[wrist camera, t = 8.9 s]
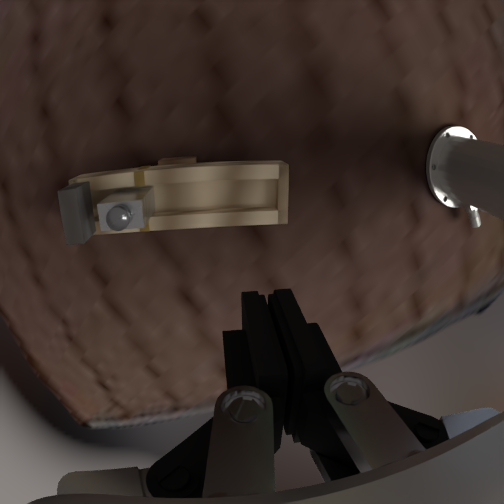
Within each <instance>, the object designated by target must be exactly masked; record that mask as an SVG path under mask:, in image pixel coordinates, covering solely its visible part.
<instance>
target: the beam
mask: <svg viewBox="0 0 504 504" xmlns="http://www.w3.org/2000/svg"><path fill="white" fill-rule="evenodd" d="M151 186H154V197H155V208H156V210H155V211H154V213H153V215H152V216H151V218H150V219H149V221H148V223H147V224H146V226H145V228H136V229H124V230H122V231H114V230H110V231H101V228H100V221H99V215H98V208H97V204H98V203H99V202H101V201H102V200H103V199H104V198H106V197H107V196H108V195H110V194H111V193H112V192H114V191H115V190H119V189H129V188H139V187H151ZM288 191H289V164H287V163H285V162H283V161H281V160H278V161H226V162H204V163H197V156H184V157H170V158H162V159H160V160H159V161H158V166H151V165H149V166H141V167H138V168H128V169H119V170H111V171H103V172H95V173H88V174H81V175H79V176H77V177H74V178H72V179H70V180H69V185H68V186H66V187H64V188H63V189H61V190H59V191H57V192H58V199H59V206H60V212H61V218H62V223H63V229H64V234H65V239H66V244H67V245H73V244H85V243H86V242H87V240H88V239H89V238H90V237H91V236H92V235H101V234H114V233H127V232H146V231H156V230H172V229H188V228H206V227H224V226H245V225H267V224H288Z"/></svg>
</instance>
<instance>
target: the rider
mask: <svg viewBox="0 0 504 504" xmlns="http://www.w3.org/2000/svg"><path fill="white" fill-rule="evenodd" d="M97 208H98V215H99V221H100V228H101V231H110V230H114V231H122V230H124V229H136V228H145V226H146V224H147V223H148V221H149V219H150V218H151V216H152V215H153V213H154V211H155V210H156V208H155V197H154V186H151V187H139V188H129V189H119V190H115V191H114V192H112V193H111V194H110V195H108V196H107V197H106V198H104V199H103V200H102V201H101V202H99V203H98V204H97Z"/></svg>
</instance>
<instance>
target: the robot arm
mask: <svg viewBox="0 0 504 504" xmlns="http://www.w3.org/2000/svg"><path fill="white" fill-rule="evenodd" d="M426 174H427V181H428V184H429V188H430V190H431V192H432V194H433V195H434V197H435V198H436V199H437V200H438V201H439V202H440V203H442V204H444V205H446V206H448V207H451V208H457V207H461V206H463V207H464V208H465V211H466V212H468V215H469V216H468V217H469V221H470V225H471V227H473V228H476V227H479V226H480V224H481V221H480V217H479V213H478V210H477V209H479V210H480V211H481V212H486V213H488V214H491V215H493V216H495V217H497V218H499V219H501V220H503V221H504V145H501V144H496V143H492V142H487V141H482V140H477V139H476V137H475V136H474V135H473V133H472V132H471V131H469V130H468V129H466V128H464V127H461V126H448V127H445V128H444V129H442V130H441V131H440V132H439V133H438V134H437V135H436V136H435V138H434V139H433V141H432V143H431V145H430V148H429V151H428V155H427V162H426ZM241 301H242V330H231V331H222V332H223V345H224V357H225V368H226V379H227V390H226V391H224V392H223V393H222V394H221V395H220V396H219V397H218V398H217V401H216V404H215V409H214V416H213V417H212V418H211V419H210V420H209V421H208V422H206V423H205V424H204V425H203V426H201V427H200V428H199V429H198V430H197V431H195V432H194V433H193V434H192V435H190V436H189V437H188V438H187V439H185V440H184V441H183V442H182V443H180V444H179V445H178V446H176V447H175V448H174V449H172V450H171V451H170V452H169V453H167V454H166V455H165V456H163V457H162V458H161V459H160V460H158V461H156V462H155V463H154V464H153V465H152V466H151V467H150V468H144V469H138V467H129V468H119V469H109V470H95V471H75V472H71V473H68V474H66V475H65V476H63V477H62V478H61V480H60V481H59V483H58V488H57V495H55V496H48V497H44V498H40V499H37V500H34V501H32V502H30V503H28V504H504V412H502V413H499V412H498V411H497V410H495V409H492V408H490V407H486V408H480V409H476V410H471V411H467V412H462V413H457V414H451V415H446V416H442V417H441V418H440V420H438V419H436V418H434V417H432V416H429V415H426V414H423V413H420V412H417V411H414V410H411V409H408V408H405V407H403V406H400V405H397V404H394V403H391V402H389V401H387V400H386V399H385V398H384V396H383V395H382V394H381V393H380V391H379V390H378V389H377V388H376V386H375V385H374V384H373V383H372V382H371V381H370V380H369V379H368V378H367V377H365V376H363V375H361V374H359V373H355V372H342V371H341V369H340V367H339V365H338V363H337V361H336V359H335V357H334V355H333V353H332V351H331V349H330V347H329V345H328V343H327V341H326V339H325V337H324V335H323V333H322V331H321V329H320V327H319V325H318V324H317V323H308V324H307V322H306V320H305V318H304V316H303V314H302V312H301V310H300V307H299V305H298V303H297V301H296V299H295V297H294V295H293V293H292V290H291V289H278V290H274V293H273V294H269V295H268V305H267V302H266V299H265V296H264V295H259V294H258V291H251V292H242V293H241ZM283 426H284V430H285V433H286V435H290V434H292V437H293V441H294V443H296V442H301V444H302V445H304V446H306V447H308V448H309V451H310V454H311V457H312V459H313V461H314V463H315V465H316V466H317V469H318V470H319V472H320V474H321V476H322V478H323V480H324V482H325V483H321V484H317V485H312V486H307V487H302V488H296V489H291V490H285V491H278V492H275V472H274V471H275V468H274V454H275V453H276V452H277V450H278V449H279V448H280V445H281V437H282V430H283Z"/></svg>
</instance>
